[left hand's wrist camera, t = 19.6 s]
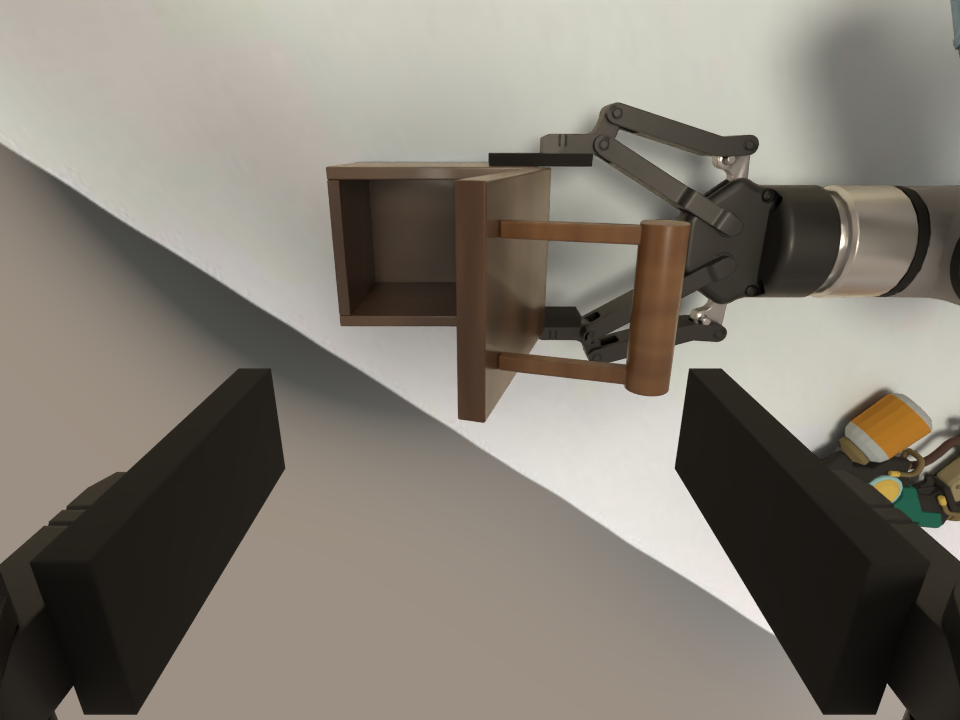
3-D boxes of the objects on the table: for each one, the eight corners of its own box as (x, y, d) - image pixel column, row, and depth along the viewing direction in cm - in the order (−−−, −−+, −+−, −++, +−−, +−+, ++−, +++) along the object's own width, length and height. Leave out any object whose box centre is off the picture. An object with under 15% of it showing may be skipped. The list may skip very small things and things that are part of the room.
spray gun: (1012, 425, 52) (901, 542, 57) (873, 361, 48) (769, 492, 54) (1057, 450, 48) (934, 573, 53) (909, 383, 44) (794, 522, 50)
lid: (457, 419, 24) (664, 449, 22) (453, 179, 21) (700, 184, 18) (525, 328, 36) (663, 341, 34) (530, 167, 33) (685, 169, 31)
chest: (368, 289, 46) (340, 326, 37) (359, 161, 43) (325, 166, 33) (522, 289, 47) (533, 326, 37) (526, 162, 43) (539, 166, 33)
